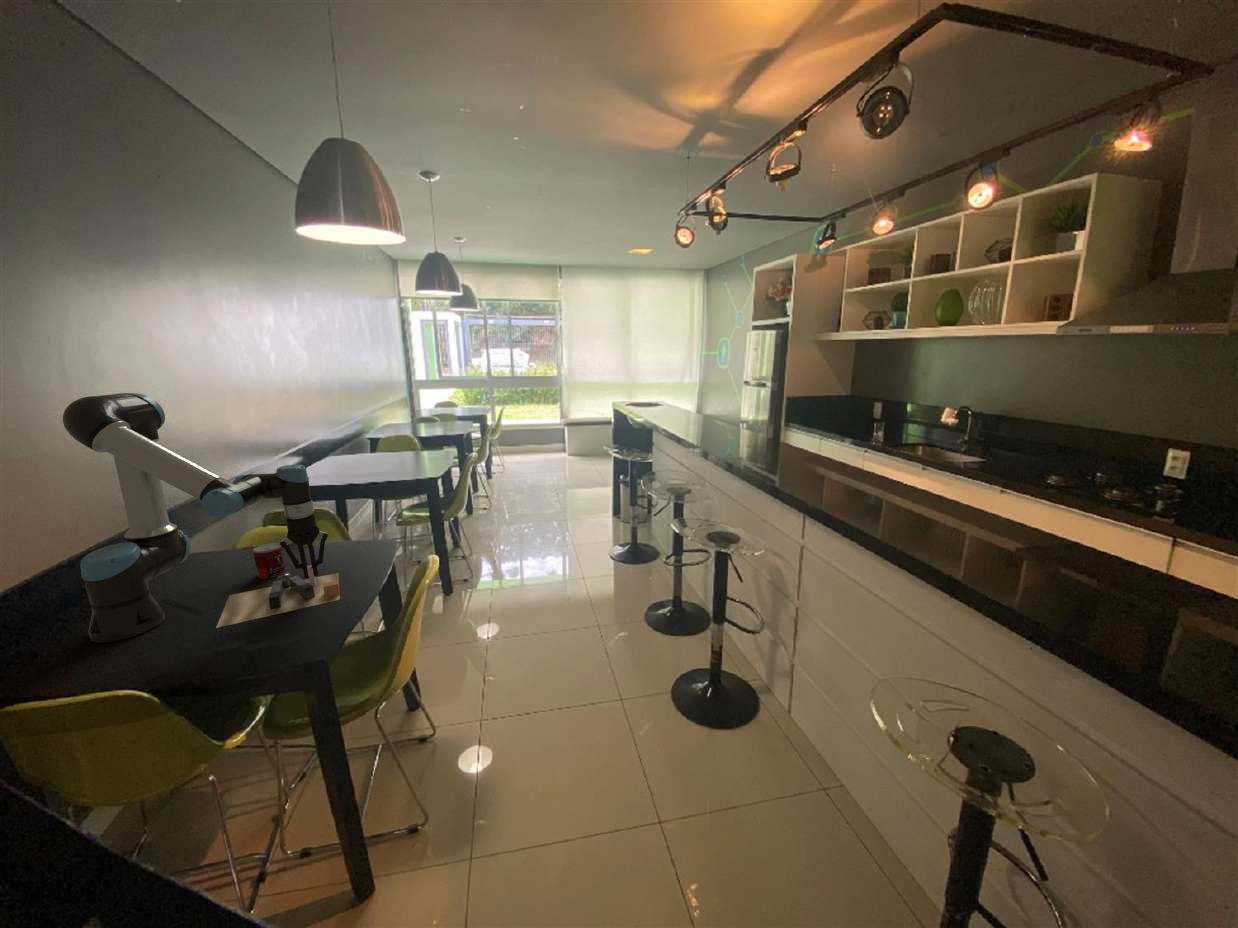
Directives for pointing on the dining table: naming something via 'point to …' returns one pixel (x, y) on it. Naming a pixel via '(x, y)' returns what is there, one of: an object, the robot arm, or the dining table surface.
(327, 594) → the orange block
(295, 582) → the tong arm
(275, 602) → the tongs fixed
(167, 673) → the dining table surface
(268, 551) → the canned food
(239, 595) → the board
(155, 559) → the robot arm
